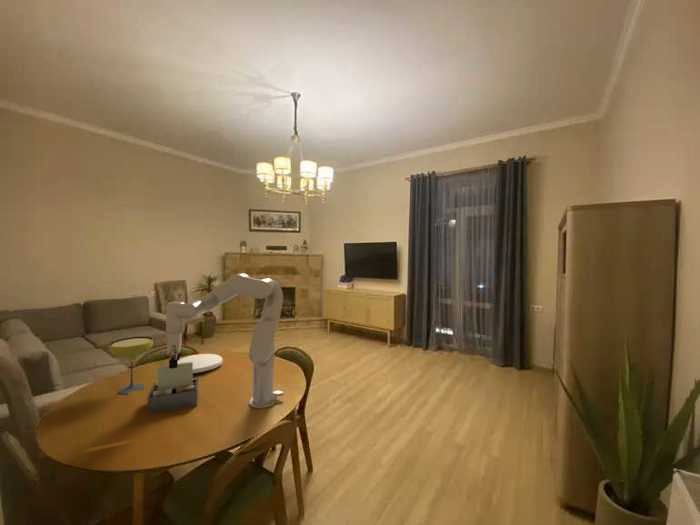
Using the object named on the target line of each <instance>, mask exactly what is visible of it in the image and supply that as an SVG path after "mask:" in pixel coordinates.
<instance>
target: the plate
mask: <svg viewBox="0 0 700 525" xmlns="http://www.w3.org/2000/svg"><path fill="white" fill-rule="evenodd" d="M185 362H193V374H199V373H202V372H207V371H210V370H213V369H216V368H218V367H220V366H221V365H223V362H224V359H223V357H222V356H220V355H218V354H214V353H202V354H201V353H198V354H194V355H189V356H185V357H182V358H180V360H178V363H185Z"/></svg>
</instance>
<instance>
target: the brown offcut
mask: <svg viewBox="0 0 700 525" xmlns="http://www.w3.org/2000/svg"><path fill="white" fill-rule="evenodd" d="M168 394H172V388H170V389H164V390H157V391H154V392H153V397H156V396H162V395H168Z"/></svg>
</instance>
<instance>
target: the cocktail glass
mask: <svg viewBox="0 0 700 525" xmlns="http://www.w3.org/2000/svg"><path fill="white" fill-rule="evenodd" d="M153 340H154V339H153V338H152V337H151V336H133V337H125V338H121V339H117V340H115V341H112V342H110V343H109V346H108V351H109V353H110V354H111V355H113V356H115V357H119V358H123V359H124V358H125V359H126V360H128V361H129V362H130V384H129V385H126V386H124V387H121V388H120V389H119V390H118V391H117V392H118V394H119V395H128V394H129V393H130V392H137V391H143V390H144V389H145V385H144V384H142V383H135V384H134V380H133V378H134V376H133V369H134V368H133V363H134V361H135V360H136V359H137V358H138V357H139V356H140V355H143V354H144V353H146V352H148V351H149V350H151V349H152V348H153V345H154V341H153Z"/></svg>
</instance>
